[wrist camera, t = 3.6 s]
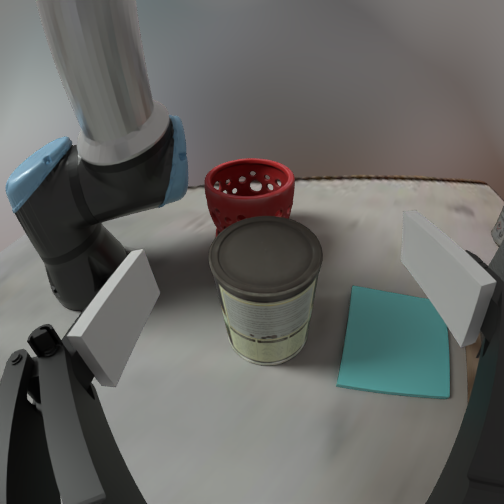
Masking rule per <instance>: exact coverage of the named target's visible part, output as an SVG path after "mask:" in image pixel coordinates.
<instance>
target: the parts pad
mask: <svg viewBox="0 0 504 504" xmlns="http://www.w3.org/2000/svg"><path fill="white" fill-rule="evenodd" d="M336 387H342V388H348V389H354V390H361V391H368V392H375V393H383V394H391V395H400V396H410V397H422V398H437V399H447V398H449V396H450V365H449V343H448V329H447V325H446V324H445V322H444V320H443V319H442V317H441V316H440V314H439V313H438V311H437V310H436V308H435V307H434V306H433V304H432V303H431V301H430V300H429V299H425V298H419V297H414V296H408V295H403V294H397V293H392V292H386V291H381V290H375V289H370V288H364V287H359V286H352V290H351V299H350V307H349V314H348V321H347V328H346V335H345V341H344V347H343V353H342V358H341V364H340V369H339V374H338V380H337V384H336Z"/></svg>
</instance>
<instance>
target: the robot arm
mask: <svg viewBox="0 0 504 504" xmlns="http://www.w3.org/2000/svg"><path fill="white" fill-rule="evenodd" d="M36 3H37V7H38V11H39V15H40V18H41V22H42V25H43V29H44V32H45V35H46V38H47V42H48V45H49V47H50V51H51V54H52V56H53V59H54V62H55V65H56V68H57V70H58V73H59V75H60V78H61V81H62V84H63V86H64V89H65V91H66V94H67V96H68V99H69V101H70V104H71V106H72V108H73V111H74V113H75V115H76V118H77V120H78V122H79V124H80V127H81V128H82V130H81V132H80V133H79V136H78V139H77V145H74V146H73V145H72V141H71V140H70V139H69V138H68V137H63V138H58V139H56V140H54V141H52V142H50V143H48V144H47V145H45V146H44V147H42V148H41V149H39V150H38V151H36V152H35V153H34V154H32V155H31V156H30V157H28V158H27V159H26V160H25V161H24V162H23V163H22V164H20V165H19V166H18V167H17V168H16V169H15V171H14V172H13V173H12V174H11V176H10V177H9V179H8V181H7V183H6V194H7V196H8V199H9V201H10V204H11V206H12V211H13V213H15V215H16V216H17V218H18V220H19V222H20V224H21V225H22V227H23V229H24V231H25V232H26V234H27V236H28V238H29V239H30V241H31V243H32V244H33V246H34V248H35V249H36V251H37V252H38V254H39V255H40V257H41V259H42V260H43V262H44V264H45V268H46V272H47V275H48V279H49V282H50V285H51V289H52V291H53V293H54V295H55V296H56V298H57V299H58V300H59V302H60V303H61V304H62V305H63V306H64V307H66V308H68V309H71V310H83V311H82V312H81V314H80V315H79V317H78V318H77V319H76V320H75V323H73V325H72V326H71V327H70V329H69V330H68V332H67V333H66V335H65V336H64V337H63V339H62V340H61V339H60V338H59V336H58V335H57V333H56V331H55V330H54V328H53V327H52V325H50V324H45V325H42V326H40V327H38V328H37V329H35V330H34V331H33V332H32V333H31V334H30V336H29V337H28V340H27V342H28V344H29V345H30V346H31V348H32V349H33V351H34V352H35V354H36V355H37V357H33V358H31V357H30V355H29V354H28V352H27V351H26V350H24V349H21V350H18V351H15V352H14V353H13V354H11V356H10V358H9V359H8V361H7V363H6V366H5V369H4V373H3V376H2V379H1V383H0V504H61V499H62V502H63V504H147V503H146V501H145V499H144V498H143V496H142V494H141V492H140V491H139V489H138V487H137V485H136V483H135V481H134V479H133V478H132V476H131V474H130V472H129V470H128V468H127V466H126V464H125V461H124V459H123V457H122V455H121V453H120V451H119V449H118V446H117V444H116V442H115V439H114V437H113V435H112V432H111V430H110V427H109V425H108V422H107V420H106V417H105V414H104V412H103V409H102V406H101V403H100V401H99V398H98V395H97V392H96V389H95V387H94V386H93V384H92V383H91V382H92V380H93V378H94V377H95V378H96V379H97V380H98V382H99V383H100V384H101V386H109V387H116V386H117V384H118V381H119V379H120V377H121V375H122V372H123V370H124V368H125V366H126V363H127V361H128V359H129V357H130V355H131V353H132V350H133V348H134V346H135V344H136V342H137V340H138V338H139V336H140V333H141V331H142V329H143V327H144V325H145V323H146V321H147V319H148V317H149V315H150V313H151V311H152V309H153V307H154V305H155V303H156V301H157V299H158V297H159V295H160V291H159V288H158V286H157V283H156V281H155V278H154V275H153V273H152V270H151V267H150V265H149V262H148V259H147V256H146V254H145V251H144V249H141V250H135V251H131V252H130V254H129V255H128V256H127V254H126V252H125V250H124V247H123V246H122V244H121V243H120V242H119V241H118V240H117V239H116V238H115V237H114V236H113V235H112V234H111V233H110V232H109V231H108V230H107V229H106V228H105V227H104V226H103V225H102V222H105V221H108V220H112V219H115V218H119V217H123V216H127V215H130V214H134V213H138V212H142V211H146V210H150V209H154V208H160V207H163V206H164V205H165V204H168V203H171V202H175V201H178V200H180V199H181V198H183V197H184V195H185V194H186V192H187V188H188V162H187V157H186V140H185V134H184V129H183V125H182V121H181V119H180V118H179V117H178V116H171V115H169V113H168V111H167V109H166V108H165V106H164V105H163V104H161V103H160V102H158V101H155V100H153V99H152V94H151V90H150V85H149V79H148V74H147V69H146V63H145V58H144V53H143V46H142V41H141V34H140V28H139V21H138V14H137V7H136V0H36ZM401 262H402V263H403V264H404V265H405V267H406V268H407V269H408V271H409V272H410V273H411V275H412V276H413V277H414V279H415V280H416V282H417V283H418V284H419V286H420V287H421V288H422V290H423V291H424V293H425V294H426V295H427V297H428V298H429V300H430V301H431V303H432V304H433V306H434V307H435V308H436V310H437V311H438V313H439V314H440V316H441V317H442V319H443V320H444V322H445V324H446V325H447V327H448V328H449V330H450V331H451V333H452V334H453V336H454V338H455V339H456V341H457V343H458V344H459V346H460V347H461V348H462V347H465V346H467V345H470V344H473V343H476V340H477V338H478V335H479V333H480V330H481V332H482V333H483V335H484V336H485V338H484V340H483V343H482V345H481V347H480V350H479V352H478V354H477V356H476V358H479V362H478V367H477V372H476V376H475V380H474V384H473V388H472V392H471V395H470V399H469V402H468V406H467V409H466V412H465V415H464V418H463V421H462V424H461V427H460V430H459V433H458V435H457V438H456V441H455V443H454V446H453V448H452V451H451V453H450V456H449V458H448V460H447V462H446V465H445V467H444V469H443V471H442V473H441V475H440V478H439V480H438V482H437V484H436V486H435V487H434V489H433V491H432V493H431V495H430V497H429V499H428V500H427V502H426V503H425V504H504V281H503V280H502V279H501V278H500V277H499V276H498V275H497V274H496V273H495V272H494V271H493V270H491V269H490V268H488V266H487V265H486V264H485V263H483V261H482V260H481V259H480V258H479V257H478V256H477V255H475V254H473V253H471V252H469V251H467V250H465V251H464V250H463V249H462V248H461V247H460V246H459V245H458V244H457V243H455V242H454V241H453V240H452V239H451V238H450V237H449V236H447V235H446V234H445V233H444V232H443V231H441V230H440V229H439V228H438V227H437V226H435V225H434V224H433V223H432V222H431V221H429V220H428V219H427V218H426V217H424V216H423V215H422V214H421V213H419V212H418V211H417V210H412V211H404V212H403V233H402V251H401ZM479 356H480V357H479ZM27 393H28V394H29V395H30V396H31V398H32V399H33V404H31V403H30V402H29V401H28V400H27ZM60 496H61V499H60Z"/></svg>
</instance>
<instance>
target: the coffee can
mask: <svg viewBox="0 0 504 504" xmlns="http://www.w3.org/2000/svg"><path fill="white" fill-rule="evenodd" d="M321 264H322V248H321V245H320V242H319V240H318V239H317V237H316V236H315V235H314V233H313V232H312V231H310V230H309V229H308V228H307V227H305V226H304V225H302V224H300V223H298V222H296V221H294V220H291V219H288V218H283V217H277V216H257V217H251V218H247V219H243V220H240V221H238V222H236V223H234V224H232V225H230V226H228V227H227V228H225V229H224V230H223V231H222V232H220V233H219V234H218V236H217V237H216V238H215V240H214V241H213V243H212V245H211V247H210V250H209V265H210V268H211V272H212V274H213V276H214V280H215V284H216V288H217V292H218V296H219V301H220V304H221V308H222V312H223V316H224V320H225V324H226V328H227V332H228V338H229V342H230V344H231V346H232V348H233V349H234V351H235V352H236V353H237V354H238V355H239V356H240V357H242V358H243V359H245V360H247V361H249V362H251V363H254V364H258V365H277V364H281V363H283V362H286V361H288V360H290V359H291V358H293V357H295V356H296V355H297V354H298V353H299V352H300V350H301V349H302V348H303V346H304V344H305V342H306V340H307V336H308V327H309V322H310V318H311V313H312V308H313V302H314V297H315V291H316V285H317V279H318V273H319V271H320V268H321Z"/></svg>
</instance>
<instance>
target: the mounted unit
mask: <svg viewBox="0 0 504 504" xmlns="http://www.w3.org/2000/svg"><path fill="white" fill-rule="evenodd" d="M488 268H490V269H491V270H493V271H494V272H495V273H496V274H497V275H498V276H499V277H500V278H501V279H502V280H503V281H504V239H503V241H502V243H501V245H500V247H499V249H498V250H497V252H496V254H495V256H494V257H493V259H492V261H491V262H490V264H489V266H488ZM484 338H485V336H484V335H483V333H482V332H481V330H480V333H479V335H478V338H477V340H476V343H473V344H470V345H467V346H466V358H467V379H468V402H469V399H470V395H471V392H472V388H473V384H474V380H475V376H476V372H477V367H478V362H479V358H476V356H477V354H478V352H479V350H480V347H481V345H482V343H483V340H484ZM479 357H480V356H479Z"/></svg>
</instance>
